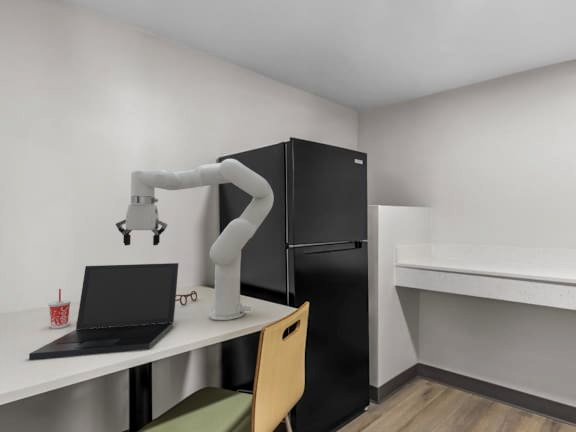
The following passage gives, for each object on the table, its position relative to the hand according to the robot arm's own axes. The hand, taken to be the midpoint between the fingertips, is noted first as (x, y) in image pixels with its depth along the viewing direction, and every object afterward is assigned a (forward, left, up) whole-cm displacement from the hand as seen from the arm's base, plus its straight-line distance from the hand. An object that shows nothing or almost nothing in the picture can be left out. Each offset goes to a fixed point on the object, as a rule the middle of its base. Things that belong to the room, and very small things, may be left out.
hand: (141, 245), depth 134 cm
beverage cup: (+27, -1, -30) cm, 40 cm away
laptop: (+1, +22, -30) cm, 37 cm away
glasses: (-4, -28, -30) cm, 41 cm away
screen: (+1, +8, -17) cm, 19 cm away
